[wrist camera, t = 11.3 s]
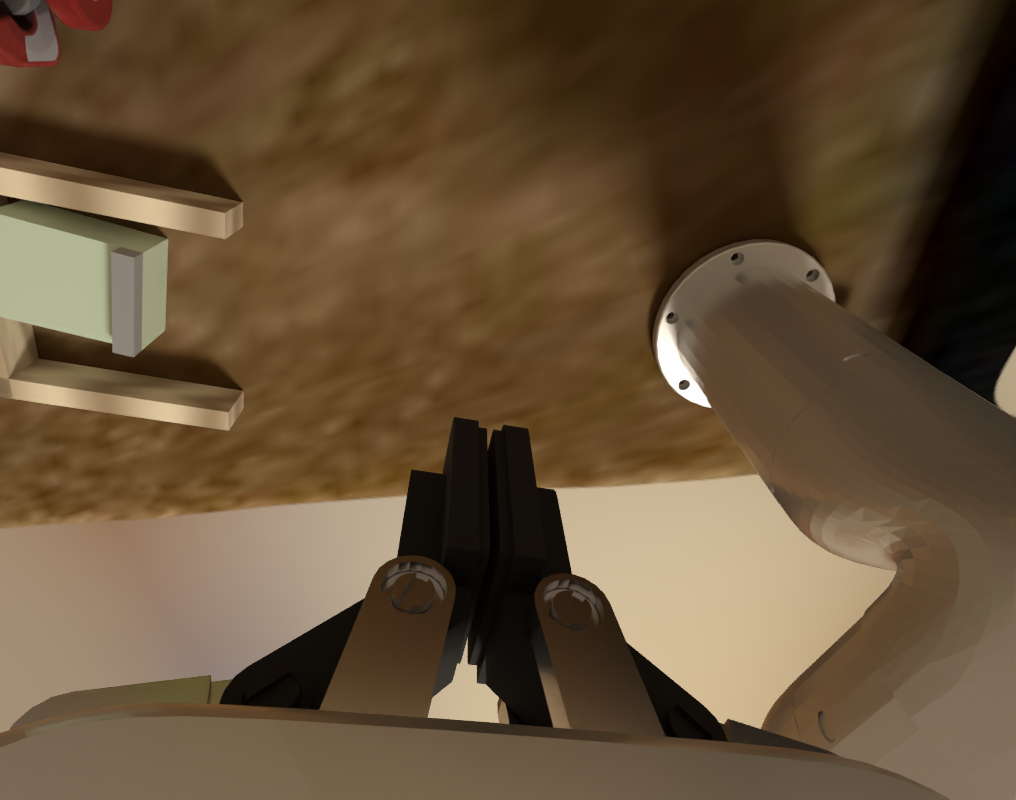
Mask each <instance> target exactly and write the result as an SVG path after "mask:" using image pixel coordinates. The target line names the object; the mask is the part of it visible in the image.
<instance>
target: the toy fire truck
mask: <svg viewBox="0 0 1016 800" xmlns="http://www.w3.org/2000/svg"><path fill="white" fill-rule="evenodd" d="M51 11H52V12H53V13H54V14H55V15H56V17H57V18H58V19H60V20H61V22H63V23H64V24H65V25H66V26H68V27H71V28H74V29H82V30H92V31H99V30H102V29H103V28H105V27H106V25H107V24H108V23H109V21H110V17H111V12H112V0H0V64H1V65H8V66H15V67H48V66H56V65H57V64H58V63H59V60H60V55H61V50H60V42H59V39H58V35H57V31H56V27H55V23H54V19H53V16H52V12H51Z"/></svg>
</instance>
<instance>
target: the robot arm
mask: <svg viewBox="0 0 1016 800" xmlns="http://www.w3.org/2000/svg"><path fill="white" fill-rule="evenodd" d="M735 253H736V255H735V257H734V258H732V259H731V257H732V256H733V255H734V254H735ZM807 273H808V274H807ZM671 312H672V314H671V315H670V316H667V315H668V314H669V313H671ZM653 350H654V355H655V360H656V363H657V365H658V367H659V369H660V371H661V373H662V375H663V376H664V378H665V379H666V381H667V383H668V384H669V385H670V386H671V387H672V388H673V390H674V391H675V392H676V393H678V394H679V395H681V396H682V397H684V398H685V399H687V400H688V401H690V402H693V403H695V404H698V405H701V406H704V407H710V408H712V409H713V410H714V412H715V413H716V414H717V416H718V417H719V419H720V420H721V422H722V423H723V424H724V426H725V427H726V429H727V430H728V432H729V433H730V434H731V436H732V437H733V439H734V440H735V442H736V443H737V444H738V446H739V447H740V449H741V450H742V452H743V453H744V454H745V456H746V457H747V459H748V460H749V462H750V463H751V464H752V466H753V467H754V469H755V470H756V472H757V473H758V474H759V476H760V477H761V478H762V480H763V482H764V483H765V484H766V486H767V487H768V489H769V490H770V491H771V493H772V494H773V496H774V497H775V499H776V500H777V502H778V503H779V504H780V505H781V507H782V508H783V509H784V511H785V512H786V514H787V515H788V516H789V518H790V519H791V520H792V521H793V523H794V524H795V525H796V526H797V527H798V528H799V530H800V531H801V532H802V533H803V534H804V535H806V536H807V537H808V538H809V539H810V540H811V541H813V542H814V543H816V544H817V545H819V546H820V547H822V548H823V549H825V550H827V551H828V552H830V553H832V554H835V555H837V556H839V557H842V558H845V559H847V560H850V561H853V562H856V563H860V564H864V565H868V566H872V567H876V568H881V569H886V570H892V571H896V574H895V577H894V579H893V580H892V582H891V583H890V585H889V587H888V588H887V589H886V590H885V591H884V592H883V593H882V594H881V595H880V596H879V597H878V598H877V599H876V600H875V601H874V602H873V603H872V605H870V606H869V607H868V609H867V610H866V611H865V613H864V615H863V616H862V617H861V618H860V619H859V620H858V621H857V622H856V623H855V624H854V625H853V626H852V627H851V628H850V629H849V630H848V631H847V632H845V634H843V635H842V636H841V637H840V638H839V639H838V640H837V641H836V642H835V643H834V644H833V645H832V646H831V647H830V648H829V649H828V650H826V652H824V653H823V654H822V655H821V656H820V657H819V658H818V659H817V660H816V661H815V662H814V663H813V664H812V665H811V666H810V667H809V668H807V669H806V670H805V671H804V672H803V673H802V674H801V675H800V676H799V677H798V678H797V679H796V680H795V681H794V682H793V683H792V684H791V685H790V686H789V687H788V688H787V689H786V691H785V692H784V693H783V694H782V695H781V696H780V697H779V698H778V699H777V701H776V702H775V703H774V705H773V706H772V708H771V709H770V711H769V712H768V714H767V716H766V718H765V720H764V722H763V725H762V727H761V729H758V728H755V727H752V726H749V725H746V724H743V723H739V722H737V721H734V720H730V719H727V721H726V722H725V724H721V723H719V722H718V721H717V719H716V718H715V717H714V716H713V715H712V714H711V713H710V711H708V709H707V708H705V707H704V706H703V705H702V704H701V703H700V702H699V701H697V700H696V699H695V698H694V697H692V696H691V695H690V694H689V693H688V692H686V691H685V690H684V689H683V688H681V687H680V686H679V685H678V684H677V683H675V682H674V681H673V680H672V679H670V678H669V677H668V676H667V675H666V674H664V673H663V672H662V671H661V670H660V669H658V668H657V667H656V666H655V665H653V664H652V663H651V662H650V661H649V660H647V659H646V658H645V657H644V656H642V655H641V654H640V653H639V652H638V651H636V650H635V649H634V648H633V647H632V646H630V645H629V644H628V643H627V642H626V640H625V638H624V636H623V633H622V631H621V629H620V626H619V624H618V621H617V619H616V617H615V615H614V612H613V609H612V607H611V605H610V603H609V601H608V599H607V598H606V596H605V594H604V593H603V592H602V591H601V590H600V589H599V588H598V587H597V586H596V585H594V584H593V583H591V582H590V581H588V580H586V579H585V578H582V577H579V576H576V575H573V574H572V573H571V567H570V562H569V557H568V551H567V546H566V541H565V536H564V530H563V525H562V520H561V514H560V509H559V504H558V499H557V495H556V492H555V491H554V490H552V489H545V488H538V487H537V486H536V479H535V472H534V465H533V458H532V451H531V444H530V438H529V431H528V429H527V428H521V427H514V426H508V425H503V427H502V430H501V431H499V430H493V432H492V436H491V440H490V444H489V448H488V451H487V429H486V428H479V423H478V421H476V420H470V419H463V418H457V417H454V419H453V423H452V428H451V433H450V438H449V443H448V448H447V453H446V458H445V464H444V469H443V474H438V473H431V472H424V471H417V470H411V475H410V481H409V487H408V493H407V500H406V506H405V512H404V518H403V524H402V531H401V536H400V543H399V549H398V555H397V558H395V559H392V560H390V561H388V562H387V563H385V564H384V565H382V566H381V567H380V568H379V569H378V571H377V572H376V574H375V575H374V577H373V579H372V582H371V584H370V587H369V589H368V592H367V594H366V597H365V598H364V599H363V600H361V601H359V602H357V603H356V604H354V605H352V606H351V607H349V608H347V609H345V610H344V611H342V612H340V613H339V614H337V615H335V616H333V617H332V618H330V619H328V620H327V621H325V622H323V623H322V624H320V625H318V626H316V627H315V628H313V629H311V630H310V631H308V632H306V633H304V634H303V635H301V636H299V637H298V638H296V639H294V640H292V641H291V642H289V643H287V644H286V645H284V646H282V647H281V648H279V649H277V650H276V651H274V652H272V653H270V654H269V655H267V656H265V657H263V658H262V659H260V660H258V661H257V662H255V663H253V664H252V665H250V666H248V667H247V668H246V669H244V670H243V671H242V672H240V673H239V674H238V675H236V676H235V677H234V678H233V679H231V680H223V681H215V682H211V675H208V676H199V677H191V678H183V679H174V680H166V681H158V682H150V683H141V684H133V685H125V686H117V687H108V688H100V689H91V690H84V691H75V692H70V693H67V694H62V695H58V696H55V697H51V698H49V699H47V700H46V701H44V702H42V703H40V704H38V705H36V706H35V707H32V708H31V709H30V710H29V711H27V712H26V713H25V714H24V715H23V716H22V717H21V718H19V719H18V720H17V721H16V722H15V723H14V724H13V725H12V727H11V728H10V730H8V731H5V732H2V733H0V800H1016V418H1014V417H1012V416H1011V415H1009V414H1008V413H1006V412H1004V411H1003V410H1001V409H999V408H998V407H996V406H995V405H993V404H991V403H990V402H988V401H986V400H985V399H983V398H982V397H980V396H979V395H977V394H975V393H974V392H972V391H971V390H969V389H968V388H966V387H965V386H963V385H962V384H960V383H958V382H957V381H955V380H954V379H952V378H951V377H949V376H948V375H946V374H944V373H942V372H941V371H939V370H938V369H936V368H935V367H933V366H932V365H930V364H928V363H927V362H925V361H924V360H922V359H921V358H919V357H918V356H916V355H915V354H913V353H912V352H910V351H909V350H907V349H905V348H904V347H902V346H901V345H899V344H898V343H896V342H895V341H893V340H892V339H890V338H889V337H887V336H886V335H884V334H883V333H881V332H879V331H878V330H876V329H875V328H873V327H872V326H870V325H869V324H867V323H866V322H864V321H863V320H861V319H860V318H858V317H856V316H855V315H853V314H852V313H850V312H849V311H847V310H846V309H844V308H843V307H841V306H840V305H838V304H837V303H835V294H834V290H833V286H832V282H831V280H830V279H829V277H828V275H827V273H826V271H825V269H824V268H823V267H822V266H821V265H820V264H819V263H818V262H817V261H816V260H815V258H813V257H812V256H810V255H809V254H807V253H806V252H804V251H802V250H801V249H799V248H797V247H794V246H792V245H790V244H788V243H784V242H780V241H776V240H771V239H752V240H746V241H740V242H735V243H732V244H730V245H727V246H724V247H721V248H718V249H716V250H715V251H713V252H711V253H709V254H707V255H706V256H704V257H702V258H700V259H699V260H698V261H697V262H695V263H694V264H693V265H692V266H690V267H689V268H688V269H687V270H685V272H684V273H683V274H682V275H681V276H680V277H679V278H678V279H677V280H676V281H675V283H674V284H673V285H672V286H671V288H670V290H669V291H668V293H667V294H666V296H665V297H664V299H663V301H662V303H661V306H660V308H659V310H658V313H657V315H656V319H655V324H654V328H653ZM467 637H468V664H470V665H477V683H481V684H486V685H487V686H488V687H489V688H490V689H491V690H492V691H493V692H494V693H495V694H496V695H497V696H498V697H499V700H498V718H499V723H489V722H475V721H462V720H449V719H437V718H427V717H428V713H429V709H430V704H431V700H432V697H433V696H435V695H436V694H437V693H439V692H440V691H441V690H442V689H443V688H444V687H446V686H447V685H448V684H450V683H451V682H452V680H453V677H454V673H455V669H456V665H457V663H460V662H461V659H462V656H463V652H464V648H465V645H466V641H467Z"/></svg>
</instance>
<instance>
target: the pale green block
mask: <svg viewBox="0 0 1016 800" xmlns="http://www.w3.org/2000/svg"><path fill="white" fill-rule="evenodd" d="M167 258H168V238H164V237H160V236H157V235H153V234H149V233H146V232H142V231H139V230H135V229H131V228H128V227H124V226H121V225H117V224H113V223H110V222H106V221H103V220H99V219H95V218H92V217H88V216H85V215H81V214H77V213H74V212H70V211H67V210H63V209H59V208H56V207H52V206H48V205H45V204H41V203H38V202H34V201H29V200H22V201H18V202H15V203H12V204H8V205H5V206H2V207H0V317H3V318H7V319H11V320H15V321H20V322H24V323H28V324H32V325H36V326H41V327H45V328H49V329H53V330H57V331H62V332H66V333H70V334H74V335H78V336H83V337H87V338H91V339H95V340H99V341H104V342H108V343H112V352H113V353H117V354H121V355H125V356H130V357H135V356H136V355H137V354H138V353H139V352H141V351H142V350H143V349H144V348H145V347H146V346H147V345H149V344H150V343H151V342H152V341H153V340H154V339H156V338H157V337H158V336H159V335H160V334H161V333H163V332H164V331H165V317H166V288H167Z"/></svg>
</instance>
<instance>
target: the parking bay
mask: <svg viewBox="0 0 1016 800" xmlns="http://www.w3.org/2000/svg"><path fill="white" fill-rule="evenodd" d="M7 196H9V197H14V198H19V199H24V200H29V201H34V202H39V203H44V204H50V205H55V206H60V207H65V208H70V209H75V210H80V211H85V212H90V213H95V214H100V215H105V216H111V217H116V218H121V219H126V220H131V221H136V222H141V223H146V224H151V225H156V226H161V227H166V228H172V229H177V230H182V231H187V232H192V233H197V234H202V235H207V236H212V237H217V238H222V239H226V238H228V237H229V236H230V235H232V234H233V233H235V232H236V231H237V230H239V229H240V228H242V227H243V202H239V201H235V200H230V199H225V198H220V197H215V196H210V195H206V194H201V193H196V192H191V191H186V190H181V189H177V188H172V187H167V186H162V185H157V184H152V183H148V182H143V181H138V180H133V179H128V178H124V177H119V176H114V175H109V174H104V173H99V172H95V171H90V170H85V169H80V168H75V167H70V166H66V165H61V164H56V163H51V162H46V161H41V160H37V159H32V158H27V157H22V156H17V155H12V154H8V153H3V152H0V207H2V206H5V205H8V199H7ZM0 397H5V398H11V399H18V400H25V401H32V402H38V403H45V404H52V405H59V406H66V407H72V408H79V409H86V410H93V411H99V412H106V413H113V414H120V415H127V416H133V417H140V418H147V419H154V420H160V421H167V422H174V423H181V424H188V425H194V426H201V427H208V428H215V429H222V430H228V431H229V429H230V428H231V426H232V425H233V423H234V422H235V420H236V419H237V417H238V416H239V414H240V413H241V411H242V410H243V408H244V391H241V390H235V389H228V388H222V387H216V386H209V385H203V384H197V383H190V382H184V381H178V380H172V379H165V378H159V377H153V376H146V375H140V374H134V373H127V372H121V371H115V370H108V369H102V368H96V367H89V366H83V365H77V364H70V363H64V362H58V361H52V360H45V359H39V357H38V352H37V347H36V342H35V337H34V332H33V326H32V324H28V323H24V322H20V321H15V320H11V319H7V318H3V317H0Z"/></svg>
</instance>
